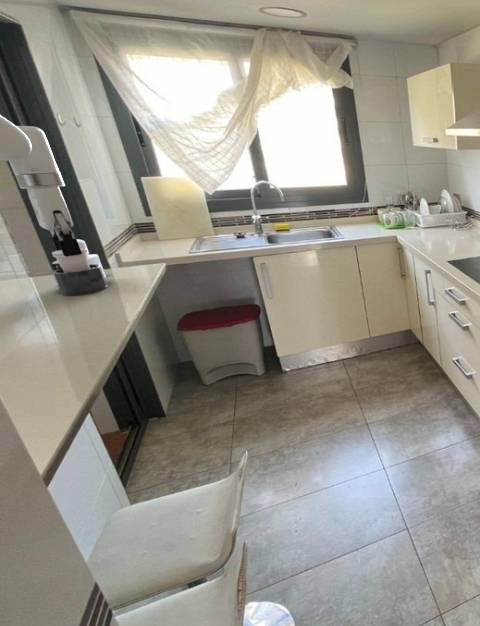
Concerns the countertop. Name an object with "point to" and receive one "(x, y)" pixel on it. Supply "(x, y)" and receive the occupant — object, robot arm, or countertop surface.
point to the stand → (80, 281)
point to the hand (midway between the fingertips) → (69, 252)
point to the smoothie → (72, 261)
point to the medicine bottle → (91, 258)
